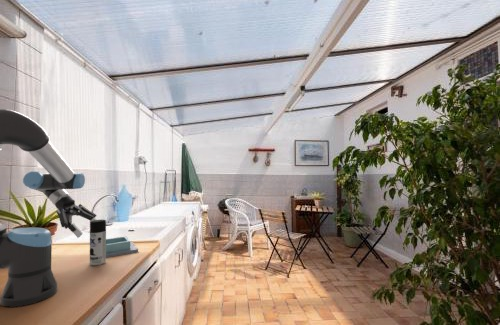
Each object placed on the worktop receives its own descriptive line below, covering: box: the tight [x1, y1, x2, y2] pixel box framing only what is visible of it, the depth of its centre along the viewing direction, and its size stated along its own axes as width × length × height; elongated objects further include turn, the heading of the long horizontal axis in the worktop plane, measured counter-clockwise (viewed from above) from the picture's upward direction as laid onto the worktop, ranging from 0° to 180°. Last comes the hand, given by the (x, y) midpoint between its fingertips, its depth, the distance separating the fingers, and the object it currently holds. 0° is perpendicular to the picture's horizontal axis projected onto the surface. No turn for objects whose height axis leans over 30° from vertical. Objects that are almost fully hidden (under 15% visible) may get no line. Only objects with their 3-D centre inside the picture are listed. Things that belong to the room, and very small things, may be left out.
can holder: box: [106, 235, 139, 259], centre depth 143 cm, size 20×20×6 cm
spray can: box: [89, 219, 107, 267], centre depth 124 cm, size 7×7×20 cm
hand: (91, 232), depth 127 cm, fingers open, 13 cm apart
